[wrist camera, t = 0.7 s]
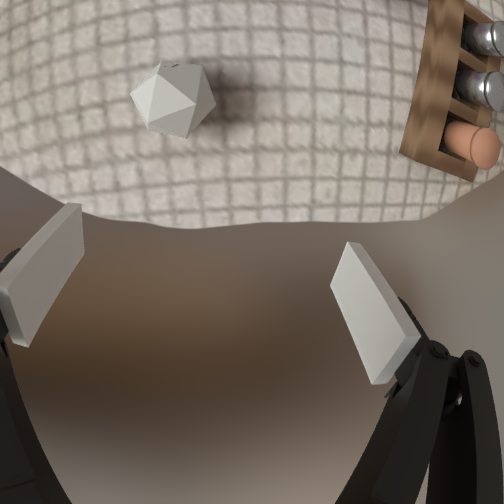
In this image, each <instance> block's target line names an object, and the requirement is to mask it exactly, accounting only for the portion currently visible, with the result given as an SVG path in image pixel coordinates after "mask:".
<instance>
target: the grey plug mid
mask: <svg viewBox="0 0 504 504" xmlns="http://www.w3.org/2000/svg"><path fill="white" fill-rule="evenodd" d="M456 88H457V92H458V94H459V96H460V97H461V98H462V99H463V100H464V101H466V102H469V103H473V104H477V105H481V106H485V107H489V108H491V109H492V110H493V111H496V112H499V113H504V74H502V73H501V72H496V71H491V72H489V73H487V72H479V71H470V70H463V71H461V72H460V73H459V74H458V76H457V79H456Z"/></svg>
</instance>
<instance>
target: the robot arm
mask: <svg viewBox="0 0 504 504" xmlns="http://www.w3.org/2000/svg"><path fill="white" fill-rule="evenodd" d="M83 255H84V242H83V228H82V208H81V204H78V203H69V202H68V203H67V204H66V205H65V206H64V207H63V208H62V209H60V210H59V211H58V212H57V213H56V214H55V215H54V216H53V217H52V218H51V219H50V220H49V221H48V222H47V223H46V224H45V225H44V226H43V227H42V228H41V229H40V230H39V231H38V232H37V233H36V234H35V235H34V236H33V237H32V238H31V239H30V240H29V241H28V243H26V245H25V246H24V247H23V248H22V249H20V248H18V249H17V250H14V251H13V252H11V253H10V254H8V255H7V257H6V258H5V259H4V260H3V261H2V263H0V504H72V503H71V502H70V500H69V498H68V497H67V495H66V493H65V492H64V490H63V488H62V486H61V485H60V483H59V481H58V479H57V477H56V475H55V473H54V472H53V469H52V467H51V466H50V464H49V461H48V459H47V457H46V455H45V453H44V451H43V449H42V447H41V444H40V442H39V440H38V438H37V436H36V433H35V431H34V428H33V426H32V423H31V421H30V418H29V416H28V413H27V410H26V407H25V405H24V402H23V399H22V396H21V393H20V390H19V387H18V384H17V381H16V377H15V374H14V370H13V367H12V363H11V359H10V355H9V351H8V347H7V344H6V342H5V340H4V338H5V336H6V334H7V333H8V332H9V334H10V337H11V339H12V341H13V343H16V344H19V345H22V346H25V347H29V345H30V343H31V341H32V339H33V337H34V335H35V334H36V332H37V330H38V328H39V326H40V324H41V323H42V321H43V319H44V317H45V315H46V314H47V312H48V310H49V309H50V307H51V305H52V304H53V302H54V300H55V299H56V297H57V295H58V293H59V292H60V290H61V289H62V287H63V285H64V284H65V282H66V281H67V279H68V278H69V276H70V274H71V273H72V271H73V270H74V268H75V267H76V265H77V264H78V262H79V260H80V259H81V257H82V256H83ZM330 286H331V289H332V291H333V293H334V295H335V297H336V300H337V302H338V304H339V307H340V309H341V311H342V314H343V316H344V318H345V321H346V323H347V325H348V328H349V330H350V332H351V335H352V337H353V339H354V342H355V344H356V347H357V349H358V352H359V354H360V357H361V359H362V362H363V364H364V367H365V369H366V372H367V374H368V377H369V379H370V382H371V384H385V383H388V381H389V380H390V379H391V377H392V376H393V375H394V374H395V376H396V379H397V382H396V383H395V384H394V385H393V387H392V388H391V389H390V390H389V391H388V393H387V394H386V395H385V396H384V397H385V398H387V397H388V396H389V398H388V400H387V403H386V405H385V407H384V410H383V412H382V414H381V417H380V419H379V421H378V423H377V425H376V428H375V430H374V432H373V434H372V436H371V438H370V440H369V443H368V444H367V447H366V449H365V451H364V453H363V455H362V456H361V458H360V460H359V462H358V464H357V466H356V468H355V470H354V471H353V473H352V475H351V477H350V479H349V480H348V482H347V484H346V486H345V487H344V489H343V491H342V493H341V494H340V496H339V497H338V499H337V501H336V502H335V504H415V502H416V499H417V497H418V494H419V491H420V488H421V485H422V483H423V480H424V477H425V474H426V471H427V468H428V464H429V476H428V487H427V496H426V504H503V471H502V457H501V447H500V438H499V430H498V423H497V417H496V411H495V405H494V400H493V395H492V390H491V386H490V381H489V377H488V373H487V368H486V365H485V362H484V360H483V359H482V357H481V356H480V355H479V354H478V353H477V352H474V351H472V350H466V351H465V352H464V353H463V355H462V356H461V357H460V358H458V357H454V356H450V353H449V352H448V350H447V349H446V347H445V346H444V345H442V344H441V343H439V342H437V341H434V340H429V338H428V337H427V335H426V333H425V332H424V330H423V328H422V327H421V325H420V324H419V322H418V321H417V320H416V317H415V316H414V314H412V311H411V310H410V308H409V307H408V305H407V304H406V303H405V302H404V301H403V300H402V299H400V298H399V297H397V296H396V295H395V293H394V292H393V290H392V289H391V287H390V286H389V284H388V283H387V281H386V280H385V279H384V277H383V275H382V274H381V273H380V271H379V270H378V268H377V267H376V265H375V264H374V262H373V261H372V260H371V258H370V257H369V255H368V254H367V252H366V251H365V250H364V248H363V247H362V245H361V244H359V243H353V242H347V244H346V247H345V249H344V252H343V254H342V257H341V260H340V262H339V265H338V267H337V270H336V272H335V275H334V277H333V280H332V282H331V285H330ZM461 396H462V400H461V404H460V405H459V404H458V399H459V398H460V397H461ZM429 461H430V462H429Z"/></svg>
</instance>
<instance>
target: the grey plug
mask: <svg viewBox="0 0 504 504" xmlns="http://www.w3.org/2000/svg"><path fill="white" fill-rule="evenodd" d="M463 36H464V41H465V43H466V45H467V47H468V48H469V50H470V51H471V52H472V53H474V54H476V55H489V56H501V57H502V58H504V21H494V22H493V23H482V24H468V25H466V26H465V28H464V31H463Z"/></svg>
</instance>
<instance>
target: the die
mask: <svg viewBox="0 0 504 504" xmlns="http://www.w3.org/2000/svg"><path fill="white" fill-rule="evenodd" d="M130 95H131V97H132V99H133V101H134V103H135V105H136V107H137V109H138V111H139V113H140V115H141V117H142V119H143V121H144V123H145V125H146V126H147V128H148V130H151V131H156V132H160V133H165V134H169V135H173V136H178V137H182V138H187V137H188V136H189V135H190V134H191V132H192V131H193V130H194V129H195V128H196V127H197V126H198V124H199V123H200V122H201V121H202V120H203V119H204V118H205V117H206V116H207V115H208V113H209V112H210V111H211V110H212V109H213V108H214V107H215V106H216V102H215V99H214V97H213V94H212V91H211V88H210V85H209V83H208V80H207V77H206V74H205V72H204V69H203V66H202V65H195V64H186V63H177V62H167V61H161V62H160V63H159V64H158V65H157V66H156V67H155V68H154V69H153V70H152V71H151V72H150V73H149V74H148V75H147V76H146V77H145V78H144V79H143V80H142V82H141V83H140V84H139V85H138V86H137V87H136V88H135V89H134V90H133V91H132V92H131V93H130Z"/></svg>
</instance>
